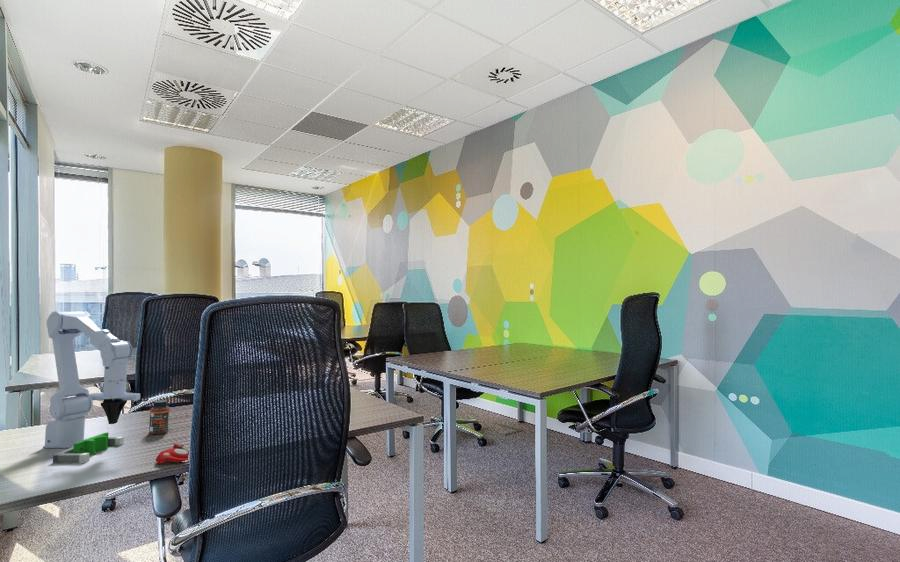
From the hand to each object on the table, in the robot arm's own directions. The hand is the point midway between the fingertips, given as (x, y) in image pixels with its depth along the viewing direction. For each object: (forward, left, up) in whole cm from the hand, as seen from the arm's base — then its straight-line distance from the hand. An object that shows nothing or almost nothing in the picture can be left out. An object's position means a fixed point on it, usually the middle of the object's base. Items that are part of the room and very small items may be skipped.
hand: (113, 423), depth 140 cm
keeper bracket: (-6, 0, -9) cm, 11 cm away
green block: (-6, +1, -10) cm, 11 cm away
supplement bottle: (+3, +21, -9) cm, 23 cm away
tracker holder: (+23, -5, -10) cm, 25 cm away
